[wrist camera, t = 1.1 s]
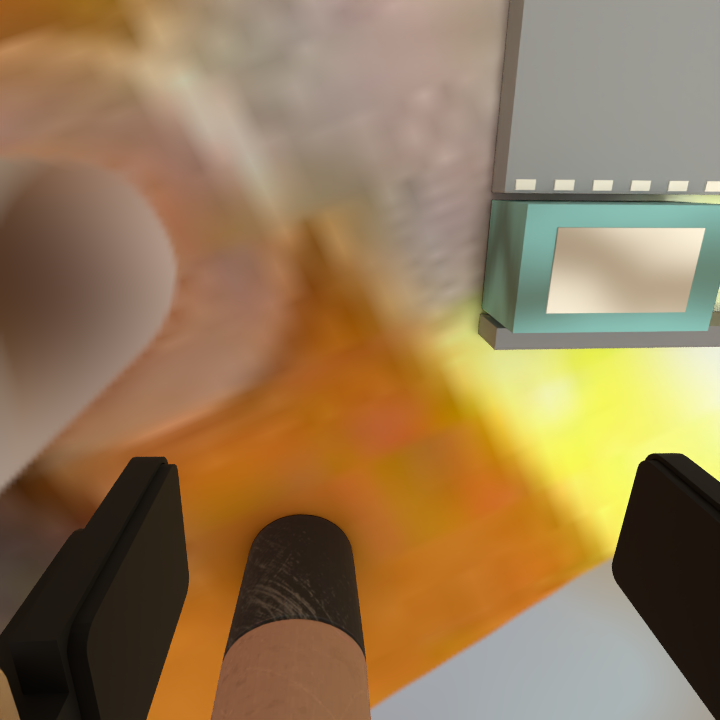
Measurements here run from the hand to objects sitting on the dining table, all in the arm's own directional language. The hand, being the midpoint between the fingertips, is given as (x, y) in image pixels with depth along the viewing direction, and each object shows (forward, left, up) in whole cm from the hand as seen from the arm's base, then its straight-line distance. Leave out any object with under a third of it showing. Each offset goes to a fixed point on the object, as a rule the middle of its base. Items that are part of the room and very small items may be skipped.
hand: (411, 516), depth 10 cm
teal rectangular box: (-2, +12, -20) cm, 23 cm away
